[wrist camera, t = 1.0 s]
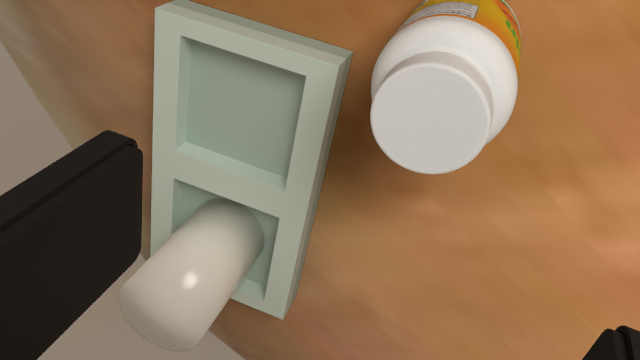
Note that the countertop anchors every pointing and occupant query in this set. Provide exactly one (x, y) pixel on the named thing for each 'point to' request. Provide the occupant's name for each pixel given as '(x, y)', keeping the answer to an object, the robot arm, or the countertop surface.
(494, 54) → the supplement bottle
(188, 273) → the white rounded cylinder
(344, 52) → the caddy
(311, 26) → the countertop surface
